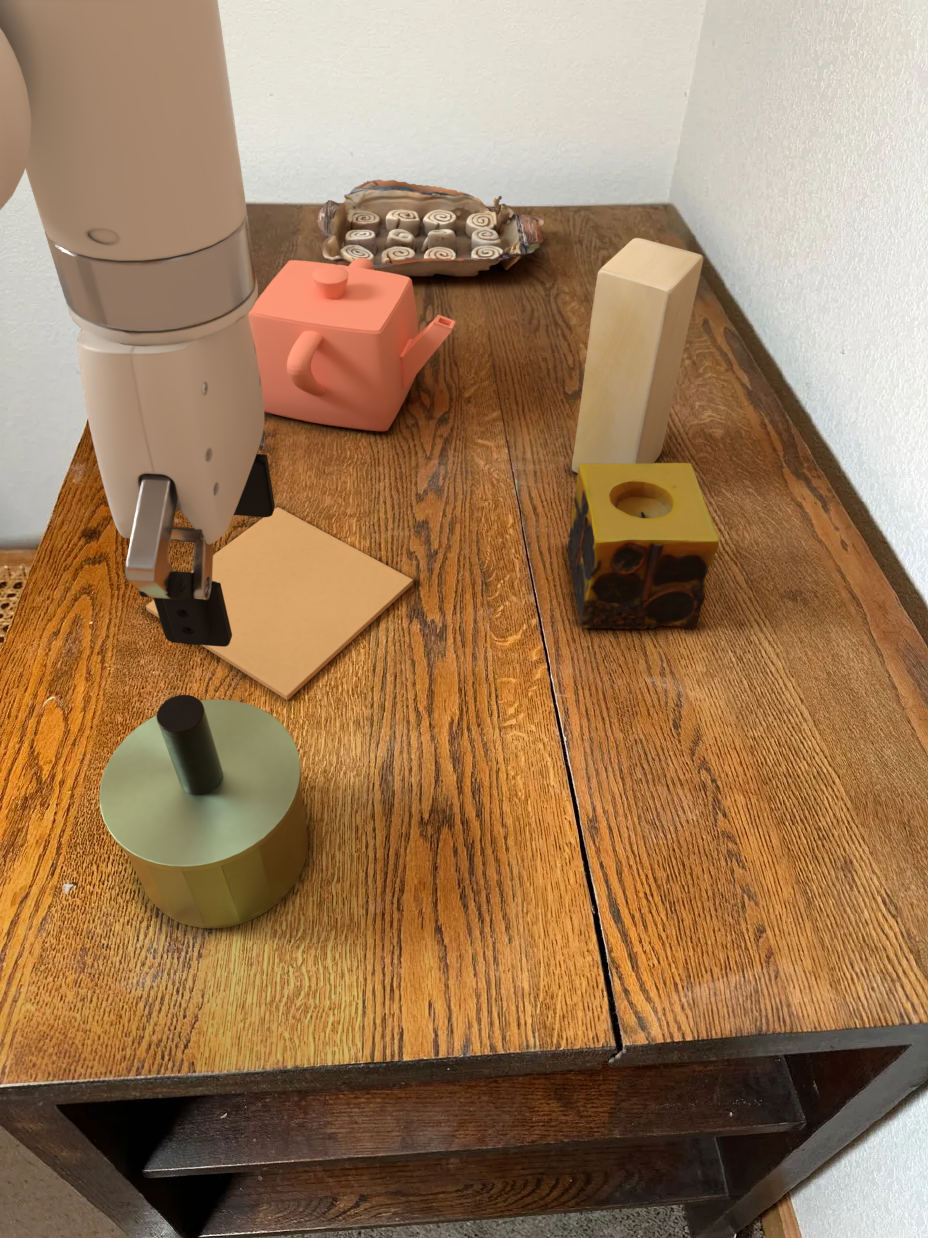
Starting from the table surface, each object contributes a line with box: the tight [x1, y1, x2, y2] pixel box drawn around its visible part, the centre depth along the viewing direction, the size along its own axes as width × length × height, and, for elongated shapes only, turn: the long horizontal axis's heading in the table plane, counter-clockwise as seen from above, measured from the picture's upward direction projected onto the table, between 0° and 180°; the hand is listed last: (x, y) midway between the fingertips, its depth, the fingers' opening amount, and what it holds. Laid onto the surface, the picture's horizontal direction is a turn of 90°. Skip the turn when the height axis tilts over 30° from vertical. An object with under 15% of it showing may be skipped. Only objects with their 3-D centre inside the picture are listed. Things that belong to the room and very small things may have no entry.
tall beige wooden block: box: [571, 237, 704, 474], centre depth 86 cm, size 8×7×21 cm
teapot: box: [248, 258, 456, 432], centre depth 95 cm, size 20×22×14 cm
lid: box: [98, 694, 302, 871], centre depth 55 cm, size 12×12×8 cm
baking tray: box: [315, 179, 545, 277], centre depth 122 cm, size 30×22×5 cm
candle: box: [567, 462, 721, 630], centre depth 78 cm, size 10×10×10 cm
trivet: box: [145, 506, 414, 701], centre depth 80 cm, size 16×16×1 cm
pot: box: [126, 787, 309, 930], centre depth 61 cm, size 11×11×8 cm
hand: (224, 572), depth 49 cm, fingers open, 9 cm apart
